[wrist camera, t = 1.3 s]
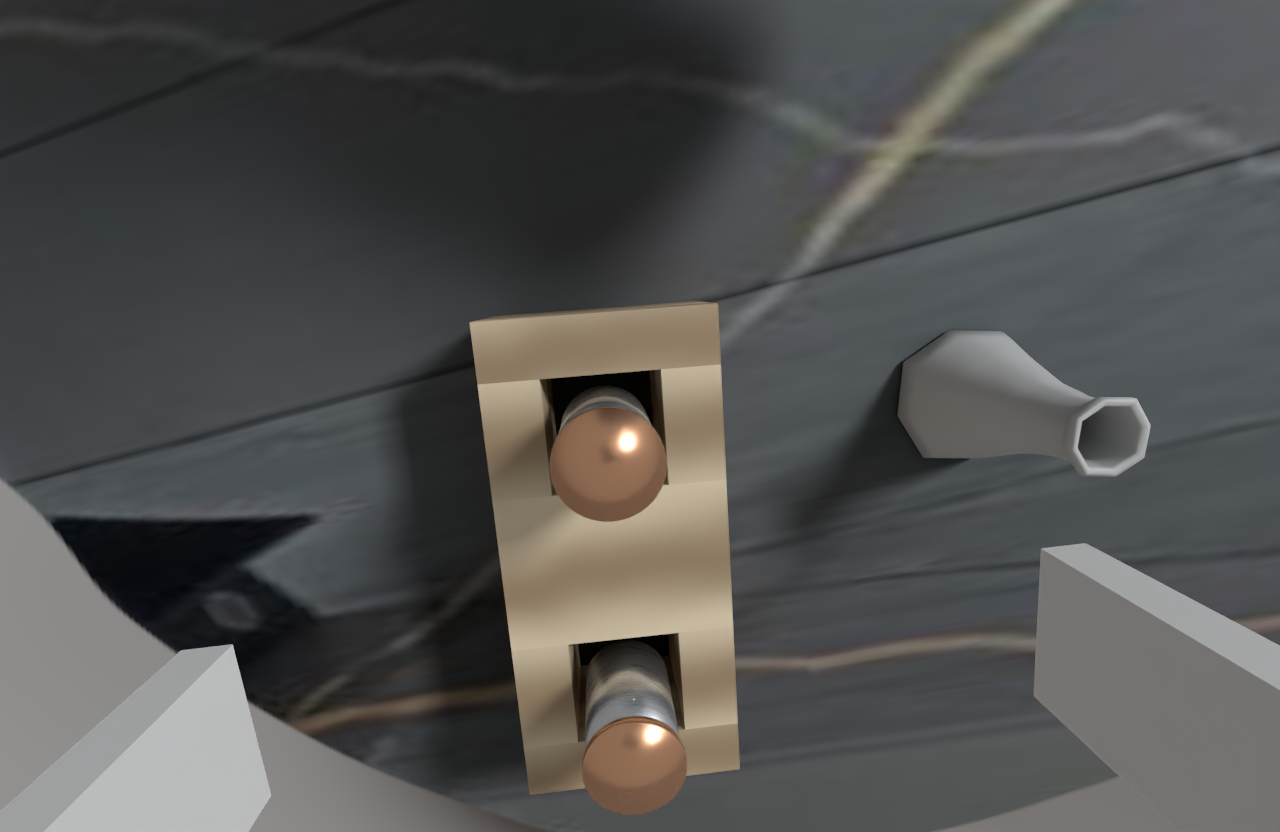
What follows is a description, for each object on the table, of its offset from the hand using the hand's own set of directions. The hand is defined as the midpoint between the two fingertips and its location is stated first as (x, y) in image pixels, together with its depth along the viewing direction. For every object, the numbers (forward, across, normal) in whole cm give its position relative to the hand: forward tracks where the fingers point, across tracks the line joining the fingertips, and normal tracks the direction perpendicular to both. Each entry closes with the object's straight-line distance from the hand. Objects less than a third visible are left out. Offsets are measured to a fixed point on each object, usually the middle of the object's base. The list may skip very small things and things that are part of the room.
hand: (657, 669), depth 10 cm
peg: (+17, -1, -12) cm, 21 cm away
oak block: (+22, -1, -6) cm, 23 cm away
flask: (+23, +18, -1) cm, 29 cm away
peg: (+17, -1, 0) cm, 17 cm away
